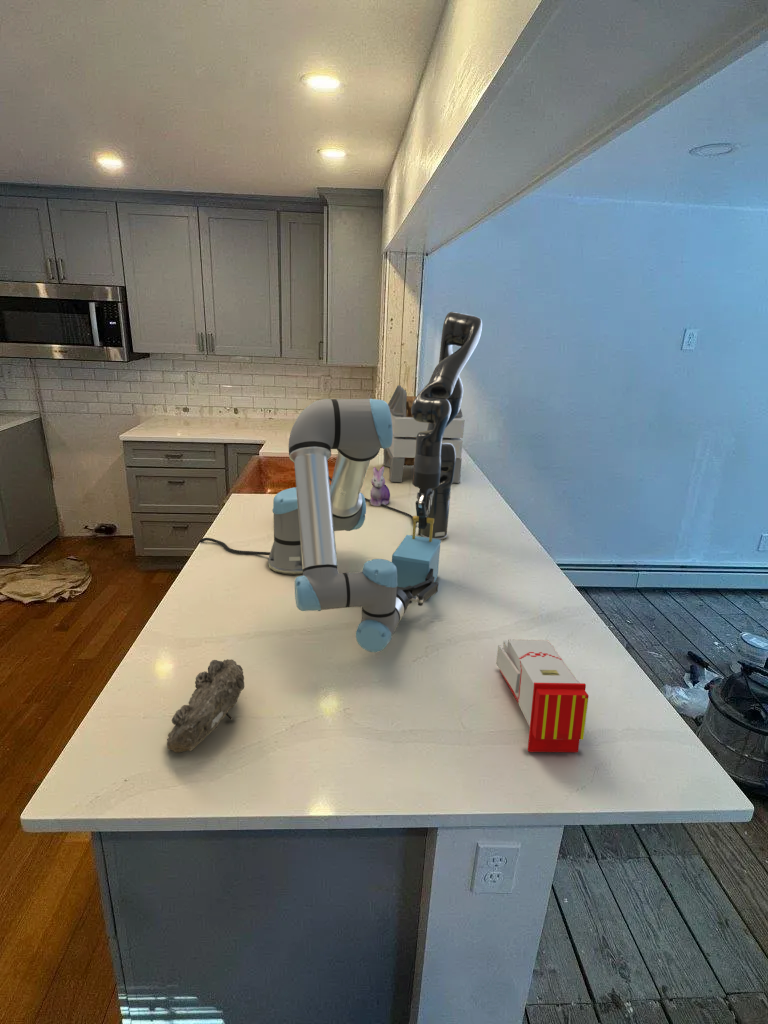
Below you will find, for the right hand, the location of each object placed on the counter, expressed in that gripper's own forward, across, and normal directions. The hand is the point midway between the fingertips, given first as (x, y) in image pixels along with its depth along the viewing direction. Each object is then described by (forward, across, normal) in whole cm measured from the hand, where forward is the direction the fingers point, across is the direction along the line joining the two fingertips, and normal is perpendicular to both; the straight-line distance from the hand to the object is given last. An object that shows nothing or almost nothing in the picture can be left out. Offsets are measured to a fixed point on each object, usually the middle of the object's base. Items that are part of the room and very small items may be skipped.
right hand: (422, 527), depth 163 cm
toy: (+16, -49, -35) cm, 62 cm away
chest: (+16, -6, 0) cm, 17 cm away
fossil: (+16, -74, +23) cm, 79 cm away
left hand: (+9, -11, 0) cm, 14 cm away
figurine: (+16, +59, +30) cm, 69 cm away
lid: (+5, -6, 0) cm, 8 cm away
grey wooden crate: (+16, +110, +26) cm, 114 cm away
